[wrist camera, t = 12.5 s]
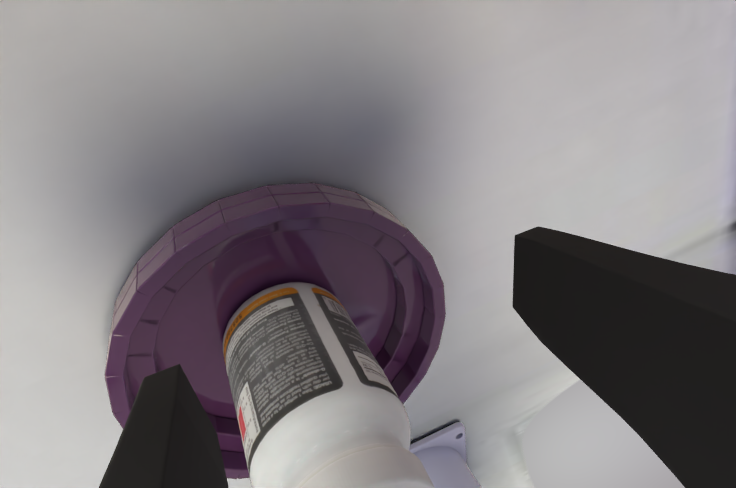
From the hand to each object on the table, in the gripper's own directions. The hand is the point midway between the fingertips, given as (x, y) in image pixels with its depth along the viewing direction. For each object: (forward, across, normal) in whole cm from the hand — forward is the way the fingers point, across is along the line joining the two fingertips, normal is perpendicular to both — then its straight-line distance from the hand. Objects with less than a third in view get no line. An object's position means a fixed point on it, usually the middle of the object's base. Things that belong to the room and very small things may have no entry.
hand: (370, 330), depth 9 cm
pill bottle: (+10, +1, +8) cm, 13 cm away
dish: (+10, +1, +8) cm, 13 cm away
